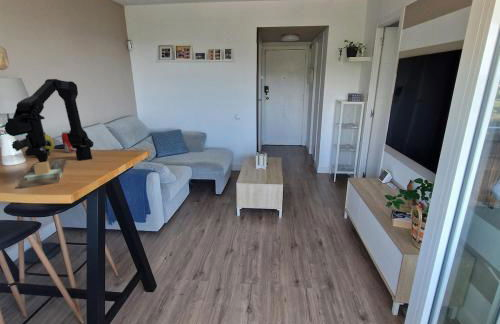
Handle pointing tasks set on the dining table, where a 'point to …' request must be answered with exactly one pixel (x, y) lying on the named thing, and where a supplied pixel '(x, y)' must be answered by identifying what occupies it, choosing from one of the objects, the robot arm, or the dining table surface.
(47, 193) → the dining table surface
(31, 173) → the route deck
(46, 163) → the block
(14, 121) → the robot arm
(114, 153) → the dining table surface
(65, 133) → the soda can
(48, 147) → the sculpture
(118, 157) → the dining table surface
